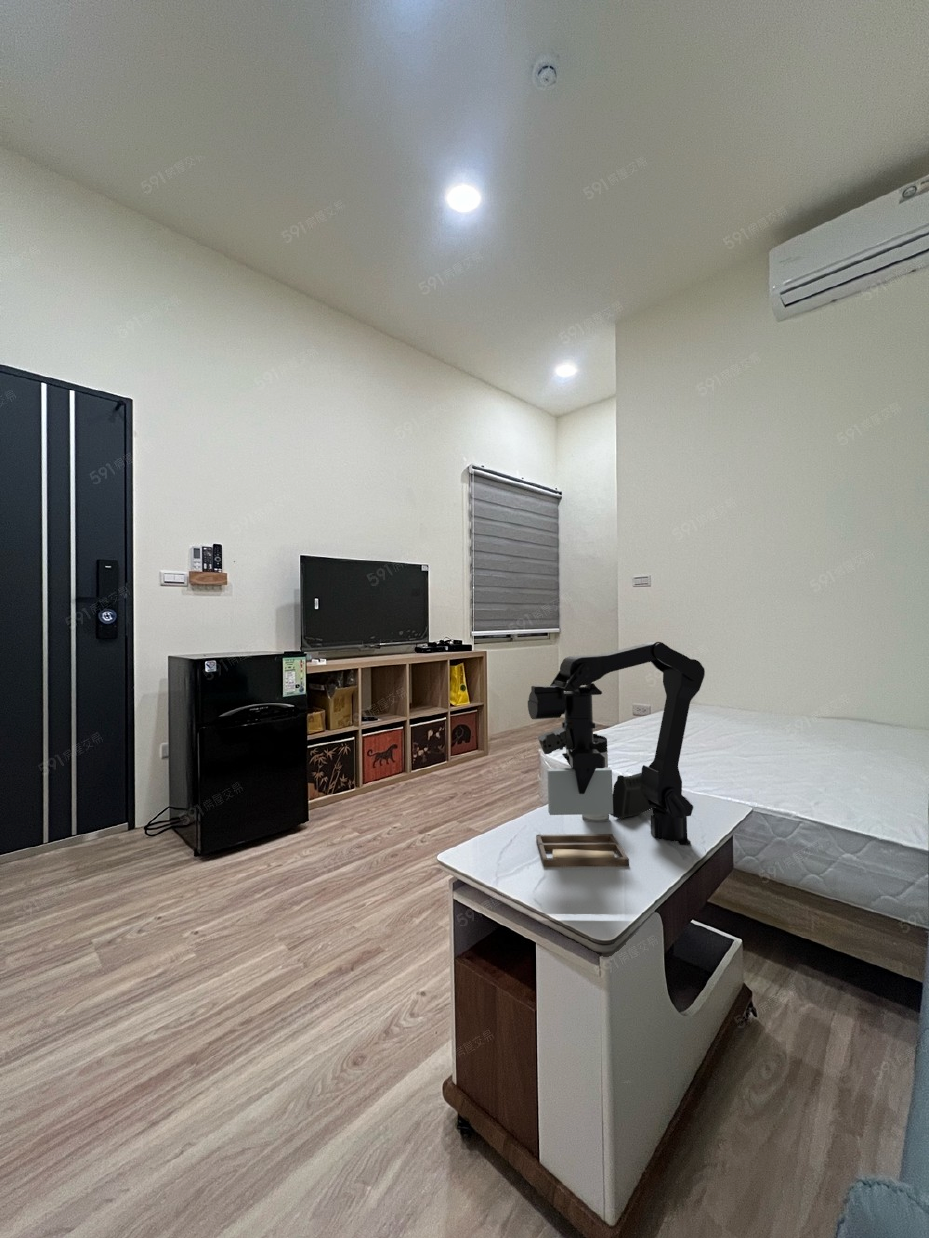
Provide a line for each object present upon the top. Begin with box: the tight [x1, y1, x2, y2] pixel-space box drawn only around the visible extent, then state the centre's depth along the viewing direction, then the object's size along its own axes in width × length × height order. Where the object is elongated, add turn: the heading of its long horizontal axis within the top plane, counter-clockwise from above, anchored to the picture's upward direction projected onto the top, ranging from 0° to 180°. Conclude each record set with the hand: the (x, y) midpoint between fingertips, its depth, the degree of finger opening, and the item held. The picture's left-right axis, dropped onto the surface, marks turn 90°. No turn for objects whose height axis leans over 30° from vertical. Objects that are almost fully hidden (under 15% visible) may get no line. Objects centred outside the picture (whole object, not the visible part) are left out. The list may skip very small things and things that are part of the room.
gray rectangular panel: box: [546, 767, 613, 816], centre depth 106 cm, size 13×2×9 cm, turn 89°
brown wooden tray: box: [535, 833, 630, 868], centre depth 103 cm, size 16×12×2 cm
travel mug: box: [581, 733, 610, 823], centre depth 123 cm, size 6×7×20 cm
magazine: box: [609, 771, 655, 819], centre depth 131 cm, size 17×3×30 cm
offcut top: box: [552, 849, 616, 858], centre depth 101 cm, size 12×4×1 cm, turn 80°
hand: (580, 791), depth 106 cm, fingers closed on gray rectangular panel, 2 cm apart
